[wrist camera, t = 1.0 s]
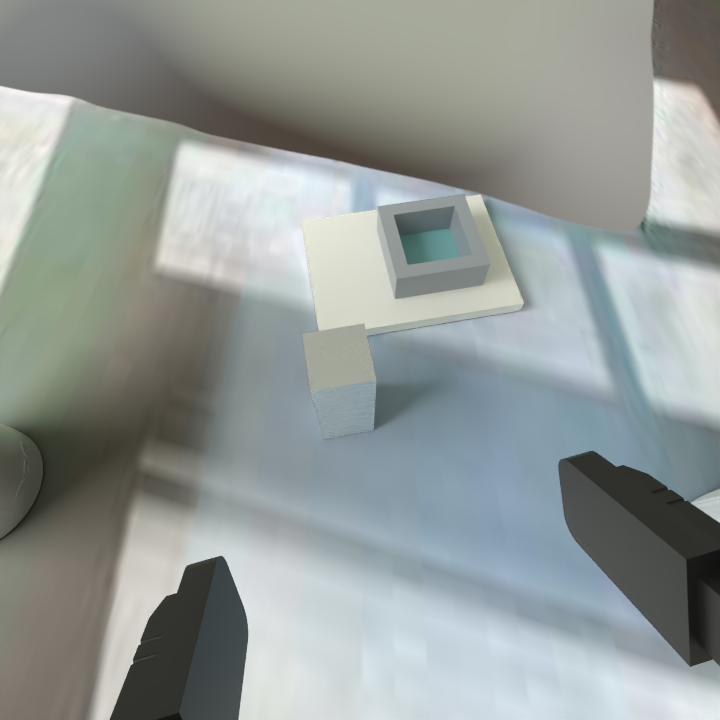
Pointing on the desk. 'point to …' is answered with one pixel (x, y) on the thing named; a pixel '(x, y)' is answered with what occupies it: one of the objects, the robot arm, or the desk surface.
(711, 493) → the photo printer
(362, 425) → the grainy grey brick
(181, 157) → the desk surface
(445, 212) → the docking board
